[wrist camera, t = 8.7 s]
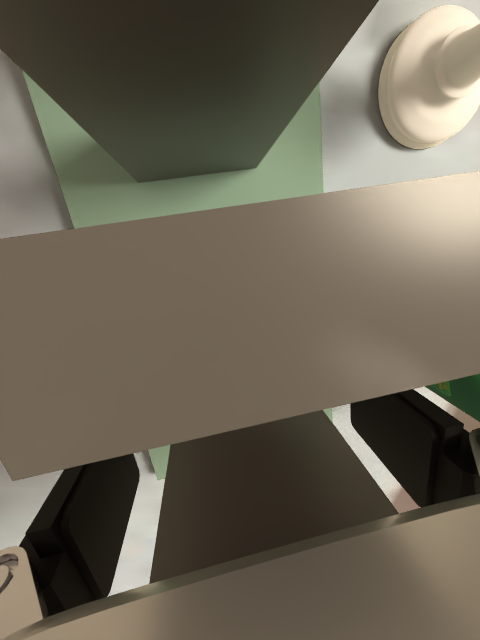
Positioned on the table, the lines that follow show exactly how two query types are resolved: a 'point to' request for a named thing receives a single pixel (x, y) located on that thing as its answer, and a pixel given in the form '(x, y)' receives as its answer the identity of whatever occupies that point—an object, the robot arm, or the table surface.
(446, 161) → the table surface
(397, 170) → the table surface
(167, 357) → the domino
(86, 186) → the mat
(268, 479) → the domino
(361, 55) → the table surface
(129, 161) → the domino
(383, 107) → the chess piece
